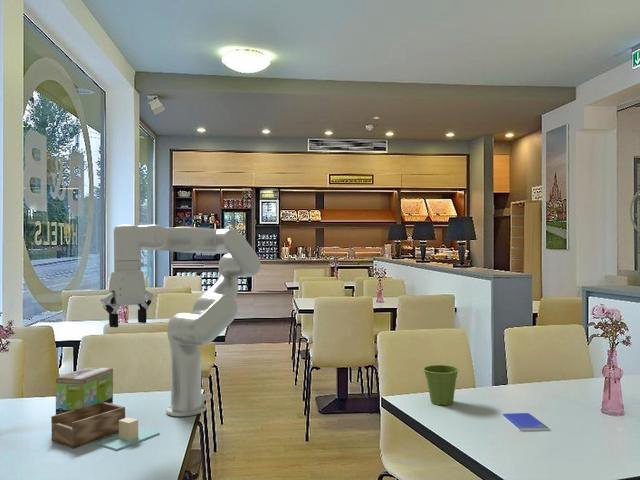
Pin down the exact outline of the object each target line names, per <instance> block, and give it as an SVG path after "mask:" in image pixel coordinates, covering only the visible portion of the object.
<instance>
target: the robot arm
mask: <svg viewBox="0 0 640 480" xmlns="http://www.w3.org/2000/svg"><path fill="white" fill-rule="evenodd" d="M113 228H114V229H113V271H112V272H111V273H110V277H109V282H108V293H107V294H106V295H105V296H103V297H101V299H100V302H101V304H102V306H103V307H102V308H103V309H104V310H105V311H106V313H107V314H108V322H109V327H110V328H114V329H116V328H119V314H118V313H117V312H118V311H119V309H120V307H127V306H135V305H136V306H137V307H138V309H137V323H139V324H146V323H147V319H148V318H147V315H148V314H147V313H148V311H147V310H149V306H150V305H151V304H152V300H153V298H154V293H151V291H148V290H146V282H145V276H144V272H143V270H142V268H143V267H144V265H145V264H144V262H142V250H144V251H160V252H161V251H165V252H176V253H187V254H188V253H189V254H191V253H192V254H213V255H214V254H215V255H217V254H224V255H223V256H221V258H220V259H219V263H218V277H217V280H216V282H215V283H214V284H213V285H212V286H211V287H209V288H208V289H207V290H206V291H205V292H204V293H203V294H202V295H200V296H199V297H198V298H196V300H195V302H194V303H193V306H192V312H179V313H176V314H174V315H172V317H171V318H170V319H169V321H168V323H167V326H166V333H167V337H168V338H167V339H168V342H169V351H170V353H169V354H170V405H169V406H168V407H166V408H165V409H166V410H165V411H166V412H165V413H166V414H167V415H168V416H172V417H180V418H181V417H189V416H190V417H191V416H196V415H199V414H202V413H205V412H206V410H207V405H206V403H205V401H207V400H211V399H212V398H213V397H212V396H213V395H212V393H211V392H207V393H202V357H201V356H202V354H201V350H200V346H205V345H206V346H207V345H208V344H210V343H212V342H213V341H214V340H215V339H216V338H218V336H220V335H221V333H222V332H223V331H224V330H225V329H227V328H228V327H229V326H230V325H231V323H232V322H233V321H234V320H235V318H236V316H237V314H238V309H239V308H238V303H237V300H236V297H237V295H238V292H239V280H238V279H239V277H241V278H242V277H243V278H251V277H254V276H256V275H257V274H258V273H259V272H260V269H261V261H260V257H259V256H258V253H256V251H255V250H254V249H253V247H252V246H251V245H250V243H249V242H248V240H247V239H246V238H245V237H244V236H243V235H242V234H241V233H240V232H239V231H238V230H237V229H234V228H210V227H209V228H208V227H207V228H205V227H204V228H203V227H198V226H196V227H195V226H176V227H164V226H162V225H159V224H141V225H136V224H119V225H116V226H115V227H113Z"/></svg>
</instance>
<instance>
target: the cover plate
mask: <svg viewBox="0 0 640 480" xmlns="http://www.w3.org/2000/svg"><path fill="white" fill-rule="evenodd" d="M160 433H161V432H159V431H155V430H152V429H148V428H147V429H146V428H143V427H140V426H139V419H136V418H132V417H128V416H127V417H125V418H124V419H121V420H119V433H118V434H116V435H114V436H112V437H111V436H110V437H109V438H108V437H107V438H106V439H105V438H104V439H103V440H100V441H98V442H97V441H96V442H95V443H96V445H97V446H99V447H103V448H106V449H110V450H114V451H116V452H117V451H120V450H124V449H126V448H128V447H130V446H133V445H136V444H138V443H141V442H144V441H147V440H149V439H151V438H154V437H156V436H159V435H160ZM125 447H126V448H125Z"/></svg>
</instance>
